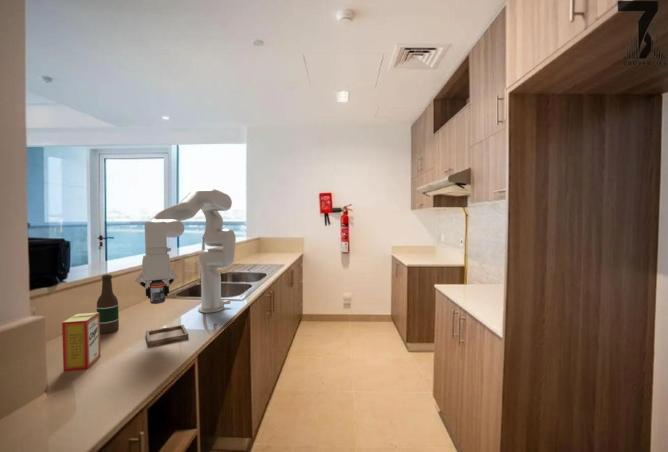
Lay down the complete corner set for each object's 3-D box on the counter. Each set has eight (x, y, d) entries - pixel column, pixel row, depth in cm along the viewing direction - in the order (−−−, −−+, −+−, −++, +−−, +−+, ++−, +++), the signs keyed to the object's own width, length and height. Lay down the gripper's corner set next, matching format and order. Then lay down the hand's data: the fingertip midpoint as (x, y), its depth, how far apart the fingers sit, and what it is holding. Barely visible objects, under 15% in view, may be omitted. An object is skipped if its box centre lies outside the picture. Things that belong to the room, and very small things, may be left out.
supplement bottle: (154, 300, 131) (153, 275, 130) (167, 300, 131) (167, 275, 130) (147, 304, 125) (146, 278, 125) (161, 304, 126) (160, 278, 125)
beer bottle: (123, 329, 138) (121, 274, 137) (103, 335, 131) (102, 277, 130) (112, 326, 142) (110, 272, 141) (92, 332, 134) (91, 275, 134)
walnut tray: (183, 329, 138) (183, 324, 138) (188, 338, 128) (188, 333, 128) (145, 335, 131) (145, 331, 131) (148, 346, 120) (148, 341, 120)
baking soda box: (87, 368, 103) (86, 319, 102) (63, 371, 101) (62, 321, 100) (100, 356, 112) (99, 311, 111) (78, 358, 110) (77, 312, 110)
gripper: (178, 249, 135) (180, 291, 136) (130, 252, 126) (132, 297, 127) (181, 251, 128) (182, 295, 129) (130, 254, 119) (132, 302, 120)
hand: (157, 296), depth 128 cm, fingers closed on supplement bottle, 5 cm apart
